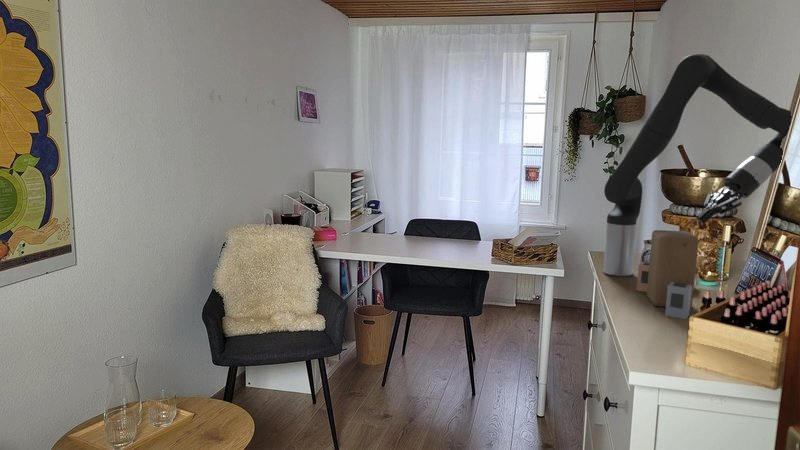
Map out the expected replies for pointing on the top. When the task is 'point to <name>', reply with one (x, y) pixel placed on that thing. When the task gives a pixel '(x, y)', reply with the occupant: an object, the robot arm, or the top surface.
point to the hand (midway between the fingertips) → (700, 221)
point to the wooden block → (671, 263)
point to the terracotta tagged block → (643, 276)
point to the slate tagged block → (678, 300)
